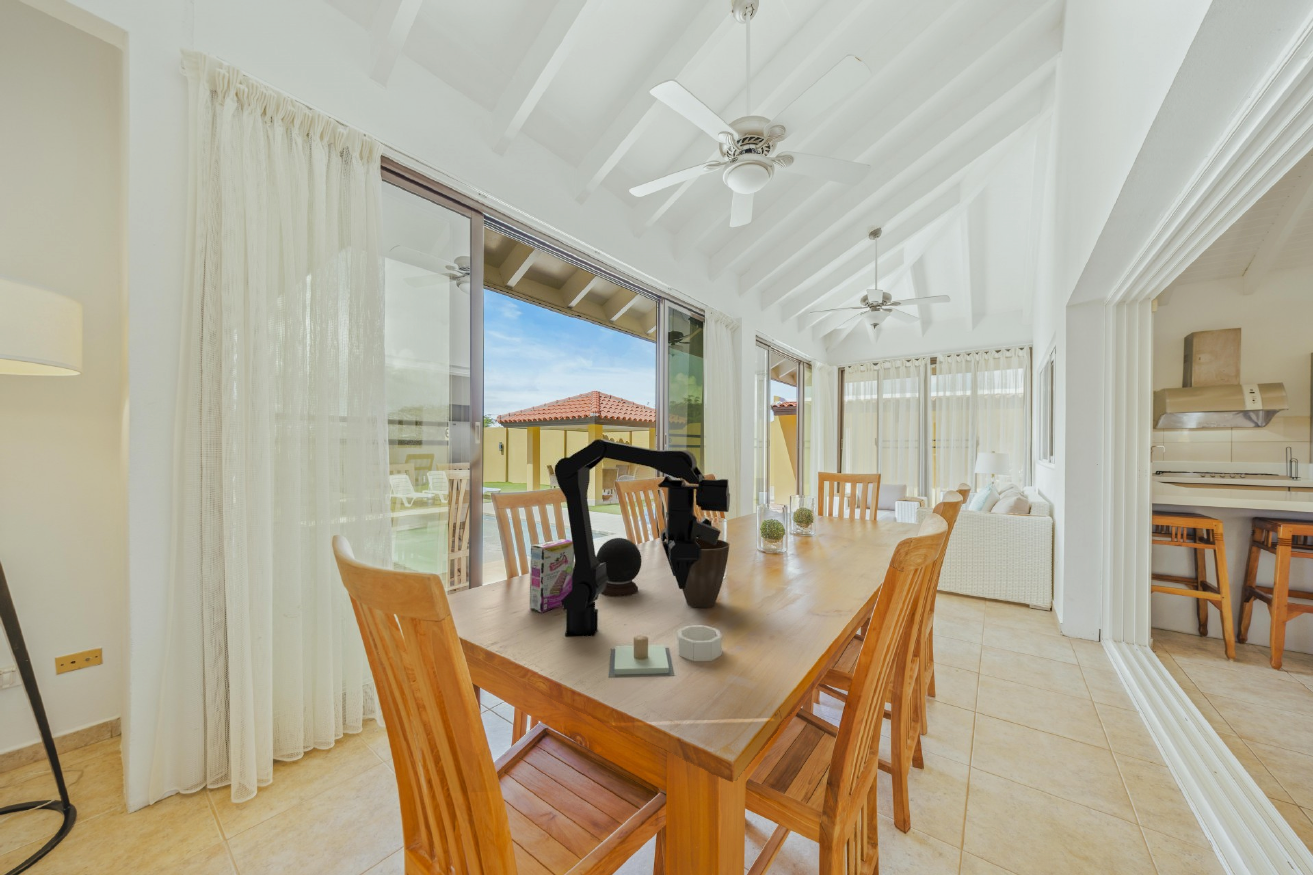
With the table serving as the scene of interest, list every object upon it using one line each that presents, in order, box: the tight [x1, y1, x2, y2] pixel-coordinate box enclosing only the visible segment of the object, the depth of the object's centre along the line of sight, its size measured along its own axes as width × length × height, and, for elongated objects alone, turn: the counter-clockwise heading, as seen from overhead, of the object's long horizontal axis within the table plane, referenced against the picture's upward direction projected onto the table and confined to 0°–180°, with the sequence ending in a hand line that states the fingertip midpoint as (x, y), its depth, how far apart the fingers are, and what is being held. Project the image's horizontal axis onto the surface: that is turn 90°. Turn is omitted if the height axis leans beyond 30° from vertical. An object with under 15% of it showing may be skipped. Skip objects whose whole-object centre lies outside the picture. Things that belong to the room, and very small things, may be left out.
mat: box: [608, 647, 676, 679], centre depth 95 cm, size 12×12×1 cm
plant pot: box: [681, 538, 730, 609], centre depth 130 cm, size 15×15×16 cm
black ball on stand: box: [596, 537, 643, 598], centre depth 141 cm, size 13×13×15 cm
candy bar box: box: [529, 538, 575, 614], centre depth 128 cm, size 11×5×16 cm, turn 144°
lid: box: [614, 634, 669, 675], centre depth 95 cm, size 10×10×4 cm
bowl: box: [676, 624, 723, 662], centre depth 100 cm, size 9×9×4 cm
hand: (678, 582), depth 105 cm, fingers open, 9 cm apart
